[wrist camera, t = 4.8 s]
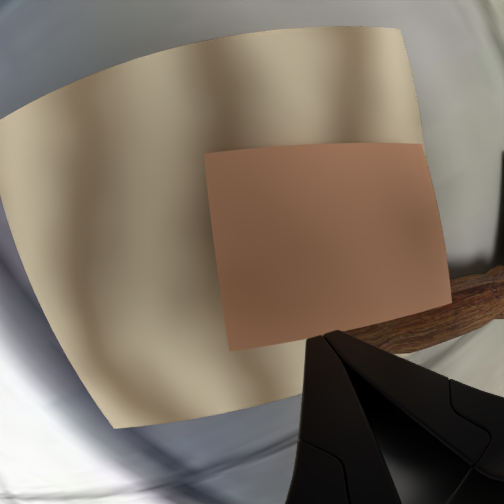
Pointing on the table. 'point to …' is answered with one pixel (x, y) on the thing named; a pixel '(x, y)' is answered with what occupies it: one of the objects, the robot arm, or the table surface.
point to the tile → (323, 239)
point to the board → (178, 203)
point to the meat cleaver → (442, 316)
